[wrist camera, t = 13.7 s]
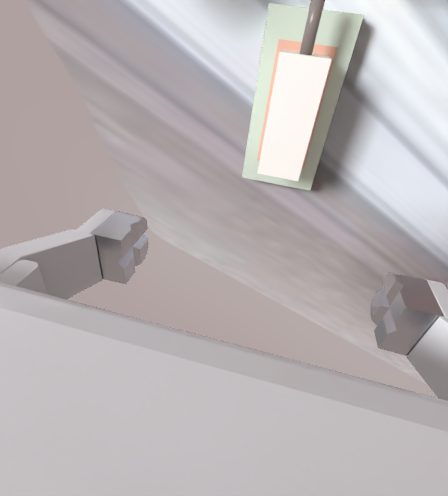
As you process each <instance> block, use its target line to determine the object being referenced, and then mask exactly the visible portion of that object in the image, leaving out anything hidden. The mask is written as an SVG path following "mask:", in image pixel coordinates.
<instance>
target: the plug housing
mask: <svg viewBox="0 0 448 496" xmlns="http://www.w3.org/2000/svg"><path fill="white" fill-rule="evenodd" d="M324 2H325V0H311V3H310V7H309V12H308V16H307V21H306V26H305V30H304V35H303V39H302V44H301V49H300V51H293V50H286V49H283V50H282V51H280V52H279V58H278V63H277V68H276V74H275V79H274V85H273V90H272V96H271V101H270V106H269V112H268V117H267V123H266V128H265V134H264V139H263V144H262V150H261V155H260V161H259V166H258V172H257V173H258V174H263V175H268V176H273V177H278V178H283V179H288V180H294V181H298V180H299V176H300V173H301V169H302V166H303V162H304V158H305V155H306V151H307V147H308V144H309V140H310V136H311V133H312V129H313V126H314V122H315V118H316V115H317V111H318V107H319V104H320V100H321V96H322V93H323V89H324V86H325V82H326V78H327V75H328V71H329V67H330V64H331V60H332V59H331V58H330V57H329V56H328V55H321V54H314V53H312V52H313V48H314V44H315V40H316V36H317V32H318V27H319V23H320V19H321V15H322V11H323V7H324Z"/></svg>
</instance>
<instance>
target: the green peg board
mask: <svg viewBox="0 0 448 496" xmlns="http://www.w3.org/2000/svg"><path fill="white" fill-rule="evenodd" d="M308 12H309V8H305V7H297V6H289V5H281V4H273V3H269V5H268V11H267V18H266V24H265V31H264V37H263V44H262V50H261V57H260V63H259V70H258V76H257V83H256V90H255V96H254V103H253V109H252V116H251V122H250V129H249V135H248V142H247V148H246V155H245V161H244V168H243V174H242V177H243V178H248V179H253V180H258V181H264V182H269V183H274V184H279V185H284V186H289V187H294V188H299V189H304V190H309V191H310V190H311V186H312V183H313V180H314V177H315V173H316V170H317V167H318V163H319V160H320V157H321V154H322V150H323V147H324V144H325V141H326V137H327V134H328V131H329V128H330V124H331V121H332V118H333V115H334V111H335V108H336V105H337V102H338V98H339V95H340V92H341V88H342V85H343V82H344V79H345V75H346V72H347V69H348V66H349V62H350V59H351V56H352V53H353V49H354V46H355V43H356V40H357V36H358V33H359V30H360V27H361V23H362V20H363V17H364V15H361V14H353V13H345V12H337V11H329V10H323V11H322V15H321V19H320V23H319V27H318V32H317V36H316V40H315V44H314V48H313V52H312V53H314V54H321V55H328V56H329V57H330V58H331V59H332V60H331V64H330V67H329V71H328V75H327V78H326V82H325V86H324V89H323V93H322V96H321V100H320V104H319V107H318V111H317V115H316V118H315V122H314V126H313V129H312V133H311V136H310V140H309V144H308V147H307V151H306V155H305V158H304V162H303V166H302V169H301V173H300V176H299V180H298V181H294V180H288V179H283V178H278V177H273V176H268V175H263V174H258V173H257V172H258V166H259V161H260V155H261V150H262V144H263V139H264V134H265V128H266V123H267V117H268V112H269V106H270V101H271V96H272V90H273V85H274V79H275V74H276V68H277V63H278V58H279V52H280V51H282V50H283V49H286V50H293V51H300V49H301V44H302V39H303V35H304V30H305V26H306V21H307V16H308Z"/></svg>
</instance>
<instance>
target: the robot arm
mask: <svg viewBox="0 0 448 496" xmlns="http://www.w3.org/2000/svg"><path fill="white" fill-rule="evenodd" d="M146 230H147V220H146V219H145V218H144V217H140V216H135V215H132V214H128V213H124V212H120V211H115V210H111V209H106V208H104V209H101V210H100V211H98V212H97V213H96V214H95V215H94V216H92V217H91V218H90V219H89V220H88V221H86V222H85V223H84V224H83V225H82V226H80V227H79V228H78V229H77V230H68V231H64V232H60V233H57V234H53V235H49V236H46V237H42V238H38V239H35V240H31V241H28V242H24V243H20V244H16V245H13V246H9V247H5V248H2V249H0V496H448V290H447V288H446V286H445V285H444V284H442V283H441V282H436V281H430V280H425V279H419V278H414V277H409V276H404V275H399V274H395V273H388V274H387V275H386V276H385V278H384V280H383V281H382V283H383V286H384V288H383V289H381V290H379V291H377V292H376V294H375V296H374V297H373V299H372V304H371V318H372V320H373V321H374V323H375V324H376V325H377V327H376V329H375V330H374V332H375V336H376V341H377V345H378V348H380V349H384V350H388V351H391V352H395V353H398V354H402V355H405V356H407V358H408V360H409V361H410V362H411V363H412V365H413V366H414V367H415V369H416V370H417V371H418V372H419V374H420V375H421V376H422V378H423V379H424V380H425V381H426V383H427V384H428V385H429V387H430V388H431V389H432V390H433V392H434V393H435V394H436V396H437V397H438V398H435V397H432V396H427V395H424V394H420V393H416V392H413V391H409V390H405V389H401V388H397V387H393V386H389V385H386V384H382V383H378V382H374V381H371V380H367V379H363V378H360V377H356V376H352V375H349V374H345V373H341V372H337V371H333V370H330V369H326V368H322V367H318V366H315V365H311V364H308V363H304V362H300V361H296V360H292V359H289V358H285V357H281V356H278V355H274V354H270V353H266V352H263V351H259V350H255V349H251V348H247V347H244V346H240V345H236V344H232V343H229V342H224V341H221V340H217V339H213V338H210V337H206V336H202V335H198V334H195V333H190V332H187V331H183V330H180V329H175V328H172V327H168V326H164V325H160V324H157V323H153V322H149V321H145V320H142V319H138V318H134V317H131V316H127V315H123V314H119V313H116V312H112V311H108V310H104V309H101V308H97V307H93V306H89V305H86V304H81V303H78V302H74V301H70V300H67V299H68V298H70V297H72V296H74V295H76V294H77V293H79V292H81V291H83V290H85V289H87V288H89V287H91V286H92V285H94V284H96V283H98V282H100V281H102V279H105V280H110V281H115V282H119V283H123V284H126V283H127V282H128V281H129V279H130V278H131V276H132V275H133V274H134V273H135V266H137V265H139V264H141V263H142V262H143V260H144V259H145V256H146V254H147V250H148V239H147V237H146V235H145V234H144V232H145V231H146Z"/></svg>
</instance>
